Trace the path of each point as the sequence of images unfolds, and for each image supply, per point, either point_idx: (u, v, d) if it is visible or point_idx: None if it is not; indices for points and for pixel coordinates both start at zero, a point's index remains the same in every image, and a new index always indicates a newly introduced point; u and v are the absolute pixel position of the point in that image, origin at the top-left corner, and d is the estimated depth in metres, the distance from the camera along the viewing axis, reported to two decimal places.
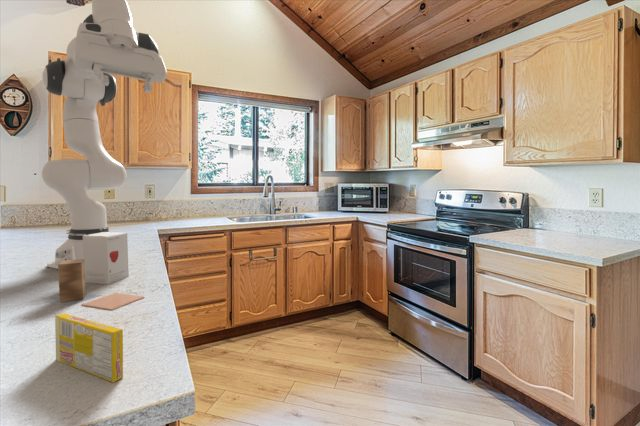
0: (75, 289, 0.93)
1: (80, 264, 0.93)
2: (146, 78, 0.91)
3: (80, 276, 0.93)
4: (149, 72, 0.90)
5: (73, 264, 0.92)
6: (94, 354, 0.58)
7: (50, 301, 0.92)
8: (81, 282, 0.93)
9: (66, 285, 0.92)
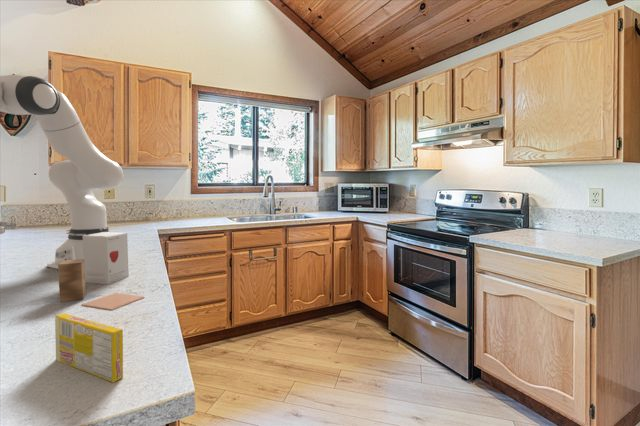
0: (75, 289, 0.93)
1: (80, 264, 0.93)
2: None
3: (80, 276, 0.93)
4: None
5: (73, 264, 0.92)
6: (94, 354, 0.58)
7: (50, 301, 0.92)
8: (81, 282, 0.93)
9: (66, 285, 0.92)
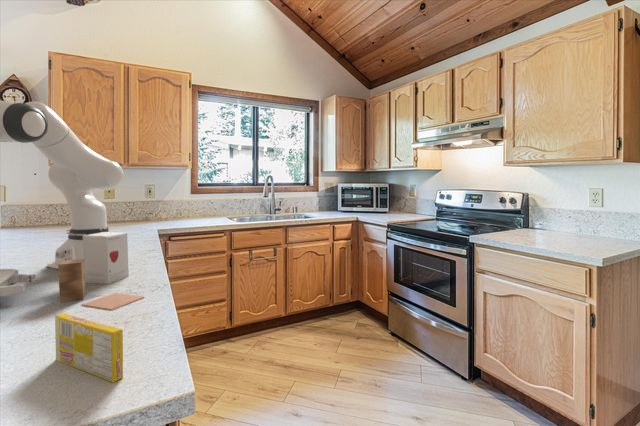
0: (75, 289, 0.93)
1: (80, 264, 0.93)
2: None
3: (80, 276, 0.93)
4: None
5: (73, 264, 0.92)
6: (94, 354, 0.58)
7: (50, 301, 0.92)
8: (81, 282, 0.93)
9: (66, 285, 0.92)
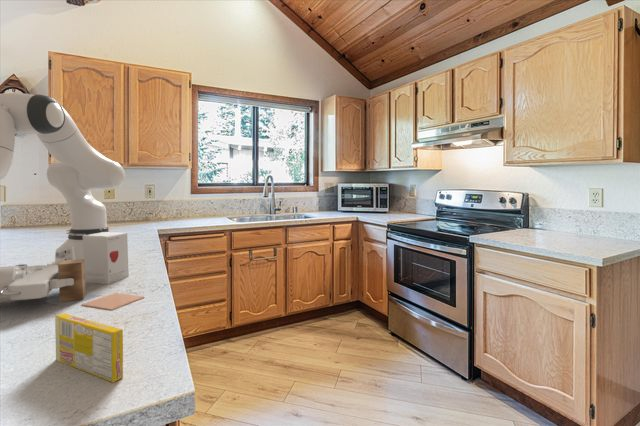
0: (76, 289, 0.93)
1: (80, 264, 0.93)
2: None
3: (80, 276, 0.93)
4: None
5: (73, 264, 0.92)
6: (94, 354, 0.58)
7: (50, 301, 0.92)
8: (81, 282, 0.93)
9: None
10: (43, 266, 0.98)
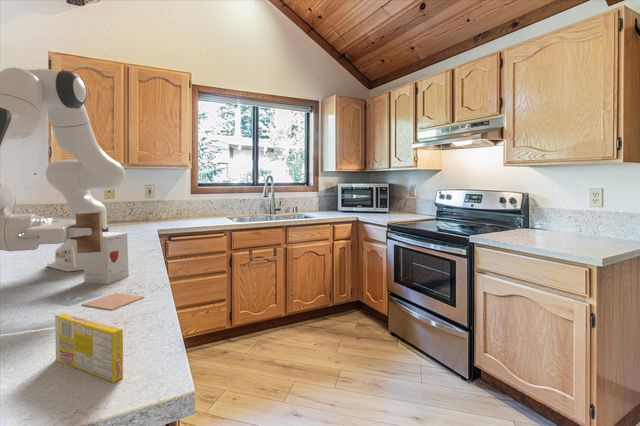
0: (93, 240, 0.90)
1: (98, 214, 0.90)
2: None
3: (98, 227, 0.90)
4: (67, 239, 0.85)
5: (91, 214, 0.89)
6: (94, 354, 0.58)
7: (50, 301, 0.92)
8: (99, 233, 0.91)
9: None
10: (60, 219, 0.96)
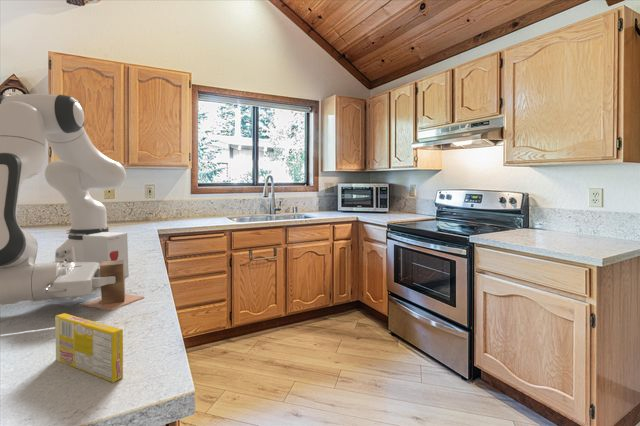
0: (117, 291, 0.91)
1: (122, 265, 0.91)
2: None
3: (121, 277, 0.91)
4: None
5: (115, 265, 0.90)
6: (94, 354, 0.58)
7: (50, 301, 0.92)
8: (122, 284, 0.91)
9: (108, 286, 0.90)
10: (81, 263, 0.96)
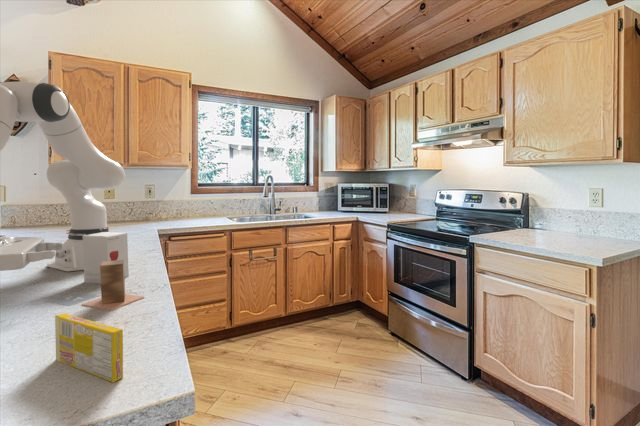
0: (117, 291, 0.91)
1: (122, 265, 0.91)
2: None
3: (121, 277, 0.91)
4: (28, 263, 0.82)
5: (115, 265, 0.90)
6: (94, 354, 0.58)
7: (50, 301, 0.92)
8: (122, 284, 0.91)
9: (108, 286, 0.90)
10: (23, 238, 0.92)
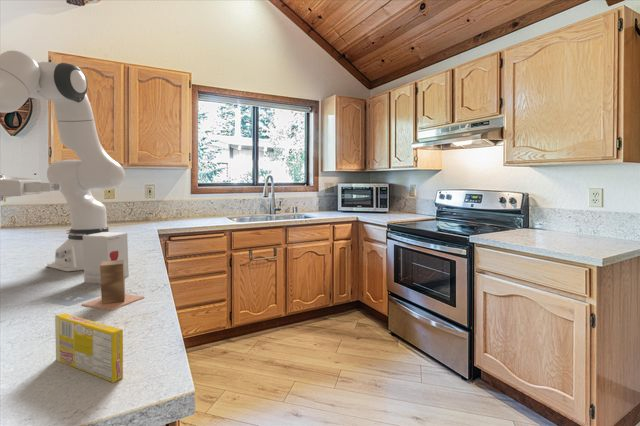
0: (117, 291, 0.91)
1: (122, 265, 0.91)
2: None
3: (121, 277, 0.91)
4: (25, 194, 0.82)
5: (115, 265, 0.90)
6: (94, 354, 0.58)
7: (50, 301, 0.92)
8: (122, 284, 0.91)
9: (108, 286, 0.90)
10: (21, 178, 0.92)
